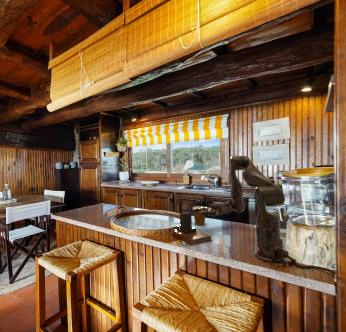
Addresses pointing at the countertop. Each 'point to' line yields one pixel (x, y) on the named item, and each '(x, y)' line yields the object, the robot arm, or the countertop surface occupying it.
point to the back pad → (185, 221)
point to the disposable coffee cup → (199, 217)
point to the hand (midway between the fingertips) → (197, 212)
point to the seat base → (192, 235)
